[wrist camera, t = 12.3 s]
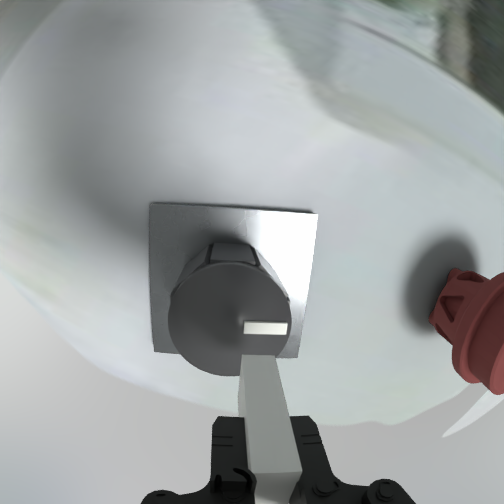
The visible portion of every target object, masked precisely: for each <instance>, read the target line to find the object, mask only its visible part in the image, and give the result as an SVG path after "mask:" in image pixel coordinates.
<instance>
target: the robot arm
mask: <svg viewBox="0 0 504 504" xmlns="http://www.w3.org/2000/svg"><path fill="white" fill-rule="evenodd" d="M238 412H239V417H224V416H218V417H217V419H216V421H215V422H214V424H213V425H212V450H211V476H210V481H209V483H208V484H207V485H206V486H205V487H204V488H203V489H201V490H199V491H197V492H194V493H189V494H183V495H178V494H176V493H174V492H172V491H167V490H158V491H153V492H151V493H149V494H147V496H146V497H145V498H144V499H143V501H142V502H141V504H416V503H415V502H414V501H413V500H412V499H411V497H410V496H409V495H408V494H407V493H406V492H405V491H404V489H403V488H402V487H401V486H400V485H399V484H398V483H397V482H395V481H393V480H390V479H380V480H376V481H374V482H373V483H372V484H370V486H359V485H350V484H346V483H343V482H341V481H340V480H339V479H338V478H336V477H335V476H334V475H333V473H332V471H331V467H330V464H329V461H328V458H327V455H326V452H325V449H324V446H323V444H322V440H321V437H320V435H319V431H318V428H317V425H316V423H315V422H314V421H313V420H312V419H311V418H310V417H309V416H289V413H288V409H287V405H286V400H285V396H284V392H283V388H282V384H281V380H280V375H279V371H278V367H277V363H276V359H275V356H271V355H243V354H242V360H241V370H240V381H239V391H238Z"/></svg>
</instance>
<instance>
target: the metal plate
mask: <svg viewBox="0 0 504 504" xmlns="http://www.w3.org/2000/svg"><path fill="white" fill-rule="evenodd" d="M316 224H317V214H315V213H306V212H294V211H282V210H268V209H254V208H239V207H222V206H203V205H182V204H156V203H153V204H151V205H150V227H149V258H150V295H151V315H152V331H153V344H154V352H161V353H172V354H180V353H179V352H178V350H177V349H176V347H175V346H174V344H173V342H172V339H171V337H170V334H169V330H168V312H169V307H170V295H171V293H172V291H173V288H174V286H175V284H176V282H177V280H178V278H179V276H180V274H181V272H182V270H183V268H184V267H185V266H186V265H187V264H188V263H189V262H190V261H191V260H192V259H194V258H195V257H196V256H197V255H198V254H199V253H200V252H201V251H202V250H204V249H205V248H206V247H207V246H208V245H210V246H211V247H212V248H213V246H214V243H229V244H246V245H250V248H251V249H252V248H253V247H254V248H255V249H256V250H257V251H258V252H259V253H260V254H261V255H262V257H263V258H264V259H265V260H266V261H267V262H268V263H269V264H270V266H271V267H272V268H273V269H274V270H275V271H276V273H277V274H278V276H279V278H280V280H281V282H282V284H283V286H284V287H285V289H286V291H287V293H288V295H289V296H288V297H289V299H290V301H291V302H290V310H291V317H292V325H291V332H290V336H289V338H288V341H287V343H286V345H285V347H284V348H283V350H282V351H281V353H280V354H279V355H278V356H277V357H276V358H297V357H298V352H299V346H300V340H301V334H302V328H303V321H304V315H305V308H306V302H307V295H308V288H309V281H310V273H311V266H312V258H313V250H314V242H315V233H316Z"/></svg>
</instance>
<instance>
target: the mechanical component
mask: <svg viewBox="0 0 504 504" xmlns="http://www.w3.org/2000/svg"><path fill="white" fill-rule="evenodd" d="M429 322H430V323H431V324H432V325H433V326H434V327H435V328H436V330H437V332H438V333H439V334H440V335H441V336H442V337H444V338H445V339H446V340H447V341H448V342H449V343H450V344H452V345H453V348H452V363H453V367H454V369H455V371H456V372H457V373H458V374H459V375H460V376H461V377H462V378H463V379H464V380H465V381H467V382H468V383H479V382H482V383H483V384H484V385H485V386H486V387H487V388H488V389H489V390H490V391H491V392H492V393H493V394H495V395H500V394H504V272H503V273H500V274H498V275H496V276H495V277H493V278H492V279H491V280H489V279H487V278H485V277H483V276H481V275H479V274H477V273H475V272H473V271H461V270H459V269H457V268H454V269H452V270H451V271H450V273H449V275H448V279H447V284H446V286H445V287H444V289H443V290H442V292H441V294H440V295H439V297H438V300H437V303H436V306H435V308H434V310H433V311H432V312H431V314H430V316H429Z"/></svg>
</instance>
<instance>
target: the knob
mask: <svg viewBox="0 0 504 504" xmlns="http://www.w3.org/2000/svg"><path fill="white" fill-rule="evenodd" d="M288 296H289V295H288V293H287V291H286V289H285V287H284V286H283V284H282V282H281V280H280V278H279V276H278V274H277V273H276V271H275V270H274V269H273V268H272V267H271V266H270V264H269V263H268V262H267V261H266V260H265V259H264V258H263V257H262V255H261V254H260V253H259V252H258V251H257V250H256V249H255V248H254V247H253V248H252V249H251V248H250V245H246V244H229V243H214V246H213V248H212V247H211V246H210V245H208V246H207V247H206V248H205V249H204V250H202V251H201V252H200V253H199V254H198V255H197V256H196V257H195V258H194V259H192V260H191V261H190V262H189V263H188V264H187V265H186V266H185V267H184V268H183V270H182V272H181V274H180V276H179V278H178V280H177V282H176V284H175V286H174V288H173V291H172V293H171V295H170V307H169V312H168V330H169V334H170V337H171V339H172V342H173V344H174V346H175V347H176V349H177V350H178V352H179V353H180V354H181V355H182V356H183V357H184V358H185V359H186V360H187V361H188V362H189V363H190V364H192V365H193V366H195V367H197V368H198V369H200V370H203V371H205V372H208V373H211V374H215V375H219V376H240V370H241V360H242V354H243V355H271V356H275V358H276V357H277V356H278V355H279V354H280V353H281V351H282V350H283V348H284V347H285V345H286V343H287V341H288V338H289V336H290V332H291V325H292V317H291V310H290V302H291V301H290V299H289V297H288Z"/></svg>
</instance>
